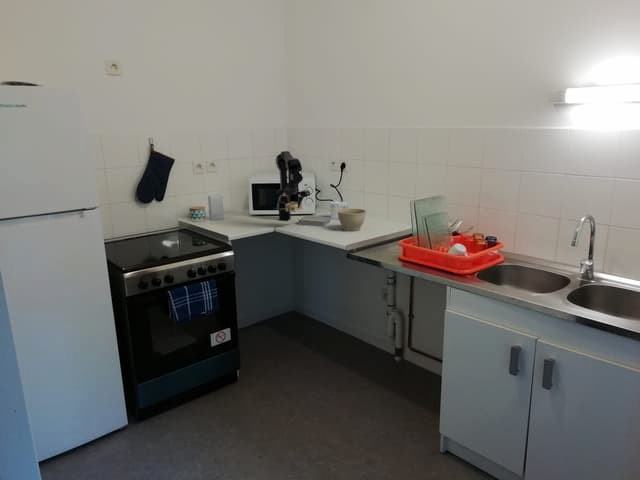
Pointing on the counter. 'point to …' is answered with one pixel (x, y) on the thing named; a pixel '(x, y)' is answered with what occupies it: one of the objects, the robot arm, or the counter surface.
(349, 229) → the planter bowl
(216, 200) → the skincare box
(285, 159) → the robot arm
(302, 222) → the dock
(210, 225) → the counter surface
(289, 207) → the pallet
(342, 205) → the light bulb box
